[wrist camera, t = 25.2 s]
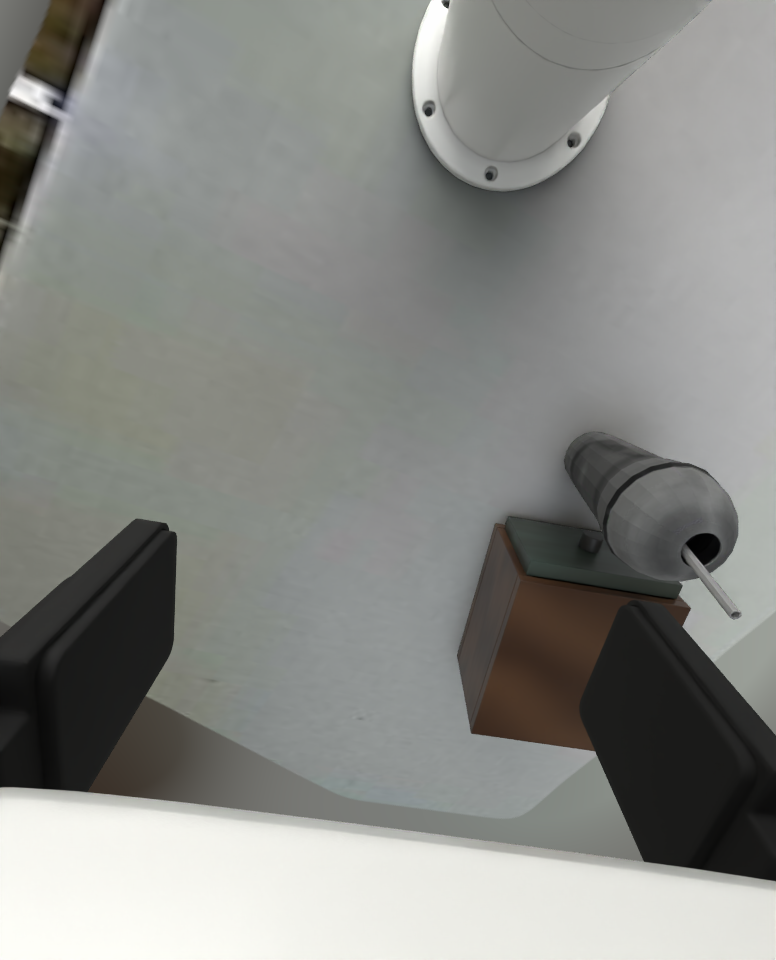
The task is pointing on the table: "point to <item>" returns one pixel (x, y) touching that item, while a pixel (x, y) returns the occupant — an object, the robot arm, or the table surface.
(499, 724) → the cabinet
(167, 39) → the table surface
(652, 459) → the beverage cup
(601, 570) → the drawer
